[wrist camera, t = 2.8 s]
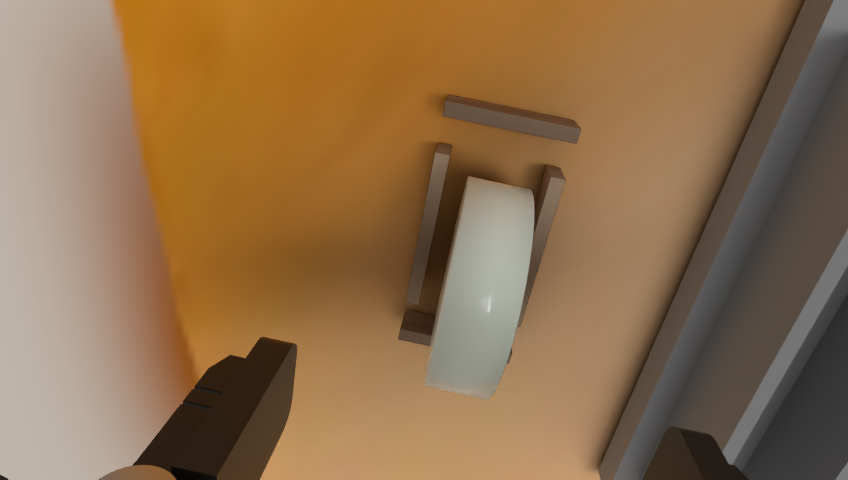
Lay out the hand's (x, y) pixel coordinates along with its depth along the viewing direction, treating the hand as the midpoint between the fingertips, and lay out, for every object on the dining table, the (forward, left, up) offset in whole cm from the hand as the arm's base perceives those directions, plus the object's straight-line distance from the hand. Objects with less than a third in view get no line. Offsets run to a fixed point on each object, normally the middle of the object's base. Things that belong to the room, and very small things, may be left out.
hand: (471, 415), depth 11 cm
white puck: (0, 0, -7) cm, 7 cm away
